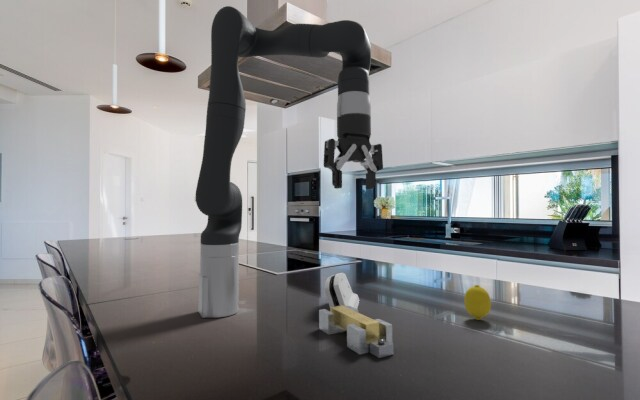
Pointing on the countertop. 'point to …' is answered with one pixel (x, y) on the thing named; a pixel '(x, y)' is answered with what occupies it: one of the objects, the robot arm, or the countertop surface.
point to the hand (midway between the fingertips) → (354, 188)
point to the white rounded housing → (340, 291)
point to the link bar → (355, 321)
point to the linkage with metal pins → (360, 335)
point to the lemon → (477, 302)
